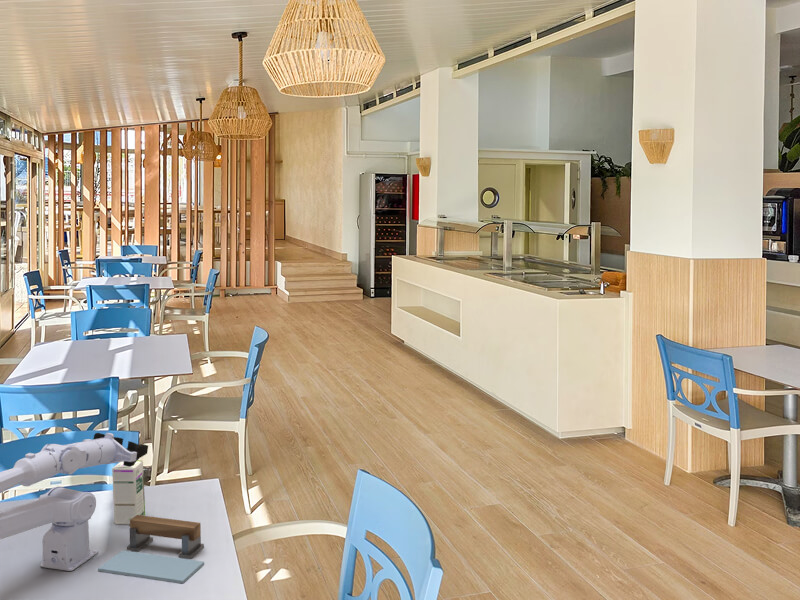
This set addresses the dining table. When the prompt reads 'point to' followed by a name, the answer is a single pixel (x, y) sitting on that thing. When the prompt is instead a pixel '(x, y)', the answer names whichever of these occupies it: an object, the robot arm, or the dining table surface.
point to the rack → (143, 540)
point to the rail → (166, 527)
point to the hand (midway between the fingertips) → (134, 445)
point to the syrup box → (128, 492)
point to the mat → (151, 566)
